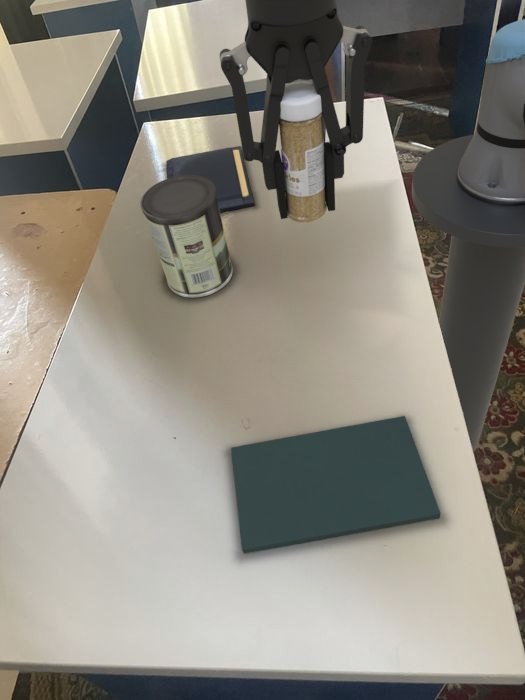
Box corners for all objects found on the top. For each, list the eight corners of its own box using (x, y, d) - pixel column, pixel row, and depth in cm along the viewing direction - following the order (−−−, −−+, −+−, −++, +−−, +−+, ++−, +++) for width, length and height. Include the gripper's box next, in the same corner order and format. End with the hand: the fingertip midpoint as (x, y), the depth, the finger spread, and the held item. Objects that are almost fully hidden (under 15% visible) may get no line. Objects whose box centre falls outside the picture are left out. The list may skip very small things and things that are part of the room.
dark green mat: (404, 420, 65) (404, 415, 64) (439, 518, 57) (441, 513, 56) (232, 451, 65) (230, 447, 64) (243, 553, 57) (242, 549, 56)
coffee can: (204, 244, 91) (184, 166, 81) (246, 271, 86) (231, 190, 75) (153, 278, 87) (125, 200, 77) (194, 308, 82) (170, 228, 71)
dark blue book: (164, 153, 108) (243, 139, 108) (167, 162, 110) (244, 148, 110) (164, 213, 95) (253, 198, 95) (167, 222, 97) (255, 207, 96)
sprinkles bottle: (278, 212, 63) (263, 92, 53) (309, 195, 65) (301, 75, 55) (304, 230, 61) (294, 106, 51) (336, 211, 62) (333, 88, 52)
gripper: (179, -9, 42) (229, 241, 60) (411, -49, 42) (394, 214, 59) (178, -37, 47) (225, 201, 65) (385, -73, 47) (377, 176, 64)
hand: (306, 207), depth 62 cm, fingers closed on sprinkles bottle, 4 cm apart
